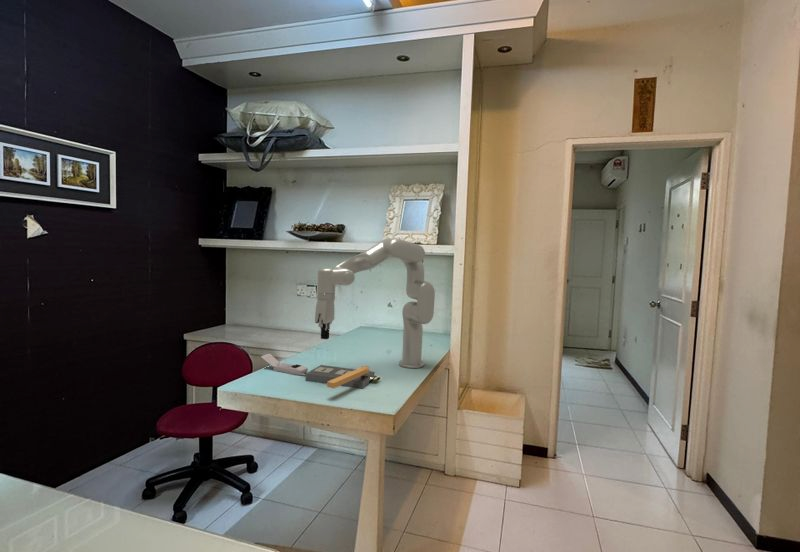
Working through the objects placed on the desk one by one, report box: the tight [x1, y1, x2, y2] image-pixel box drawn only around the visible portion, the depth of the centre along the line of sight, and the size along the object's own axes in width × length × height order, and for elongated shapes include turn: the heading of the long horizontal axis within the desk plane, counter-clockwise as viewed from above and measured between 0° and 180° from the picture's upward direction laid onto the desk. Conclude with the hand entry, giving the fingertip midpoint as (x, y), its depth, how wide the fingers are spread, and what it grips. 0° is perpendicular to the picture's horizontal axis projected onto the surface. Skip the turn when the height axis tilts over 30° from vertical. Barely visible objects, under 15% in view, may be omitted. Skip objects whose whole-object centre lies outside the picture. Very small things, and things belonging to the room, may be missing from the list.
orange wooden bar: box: [326, 365, 370, 389], centre depth 161 cm, size 4×25×2 cm, turn 151°
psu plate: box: [305, 364, 376, 390], centre depth 174 cm, size 14×26×4 cm, turn 74°
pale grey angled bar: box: [260, 353, 309, 377], centre depth 183 cm, size 6×6×25 cm
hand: (324, 338), depth 175 cm, fingers closed
